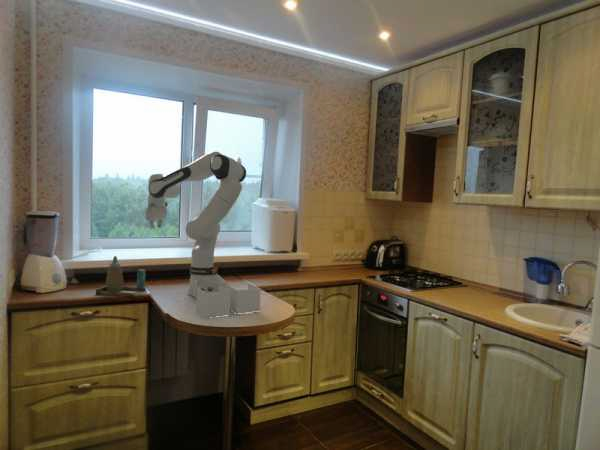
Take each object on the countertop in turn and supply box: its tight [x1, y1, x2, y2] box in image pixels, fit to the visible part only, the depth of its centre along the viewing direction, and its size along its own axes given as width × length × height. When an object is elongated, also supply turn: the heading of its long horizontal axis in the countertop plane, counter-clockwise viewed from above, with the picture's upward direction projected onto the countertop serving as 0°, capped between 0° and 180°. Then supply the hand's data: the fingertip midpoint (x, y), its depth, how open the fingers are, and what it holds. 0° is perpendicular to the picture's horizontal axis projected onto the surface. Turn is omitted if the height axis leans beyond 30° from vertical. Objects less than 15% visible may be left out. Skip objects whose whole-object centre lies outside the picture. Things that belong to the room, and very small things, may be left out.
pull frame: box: [95, 268, 147, 298], centre depth 199 cm, size 18×15×10 cm
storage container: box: [195, 283, 262, 319], centre depth 173 cm, size 25×11×11 cm, turn 122°
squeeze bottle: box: [105, 255, 124, 292], centre depth 199 cm, size 8×8×18 cm
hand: (155, 228), depth 222 cm, fingers open, 8 cm apart
